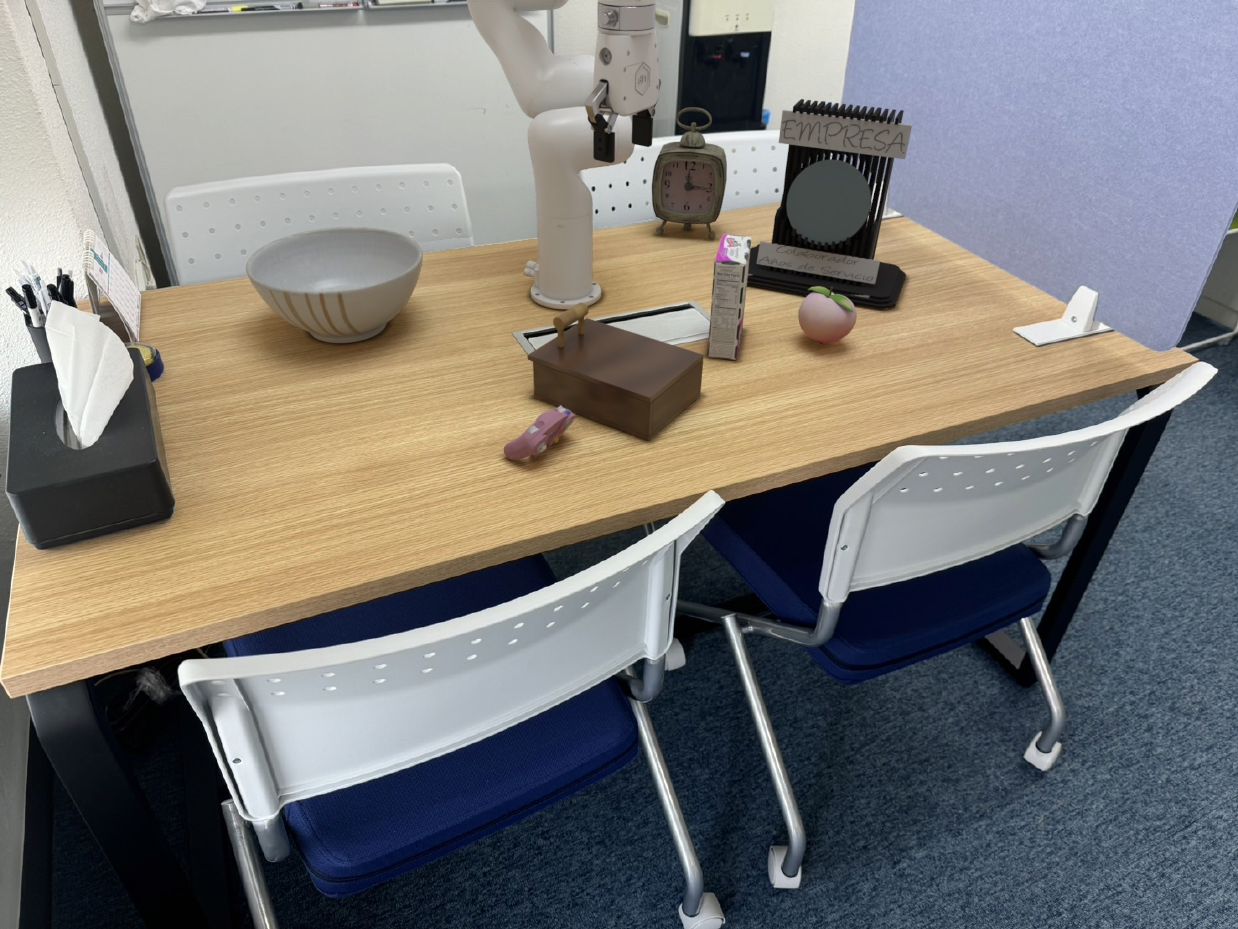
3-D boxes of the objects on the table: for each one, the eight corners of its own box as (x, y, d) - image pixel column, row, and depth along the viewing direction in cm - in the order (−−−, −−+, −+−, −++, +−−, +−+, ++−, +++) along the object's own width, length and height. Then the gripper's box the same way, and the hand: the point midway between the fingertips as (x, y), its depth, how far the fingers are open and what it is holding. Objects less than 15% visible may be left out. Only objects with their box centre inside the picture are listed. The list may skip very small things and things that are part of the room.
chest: (534, 398, 126) (532, 361, 122) (591, 358, 136) (591, 324, 132) (648, 441, 117) (650, 403, 114) (700, 395, 127) (703, 359, 124)
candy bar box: (713, 327, 146) (721, 232, 136) (742, 330, 145) (753, 235, 135) (705, 358, 137) (713, 259, 127) (736, 361, 136) (747, 262, 126)
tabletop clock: (649, 237, 179) (654, 110, 164) (655, 222, 186) (660, 99, 171) (719, 243, 177) (731, 115, 162) (722, 227, 184) (733, 103, 170)
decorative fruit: (782, 343, 141) (790, 286, 135) (810, 327, 146) (819, 271, 140) (832, 363, 136) (843, 304, 130) (858, 345, 141) (870, 288, 135)
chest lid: (527, 359, 123) (525, 324, 119) (586, 322, 133) (586, 288, 129) (650, 403, 114) (651, 365, 110) (703, 359, 124) (706, 324, 120)
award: (726, 282, 161) (742, 113, 143) (752, 248, 175) (771, 90, 157) (892, 312, 151) (932, 136, 134) (907, 273, 166) (944, 109, 148)
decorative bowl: (303, 383, 128) (286, 308, 121) (238, 319, 144) (220, 250, 137) (460, 333, 142) (453, 263, 135) (384, 280, 159) (375, 215, 152)
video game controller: (523, 477, 112) (541, 445, 107) (498, 454, 113) (514, 421, 108) (568, 442, 119) (586, 410, 114) (543, 420, 120) (561, 388, 115)
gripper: (613, 30, 105) (611, 172, 115) (684, 13, 117) (676, 143, 127) (563, 23, 108) (565, 162, 118) (637, 7, 120) (633, 135, 130)
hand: (623, 152), depth 122 cm, fingers open, 9 cm apart
